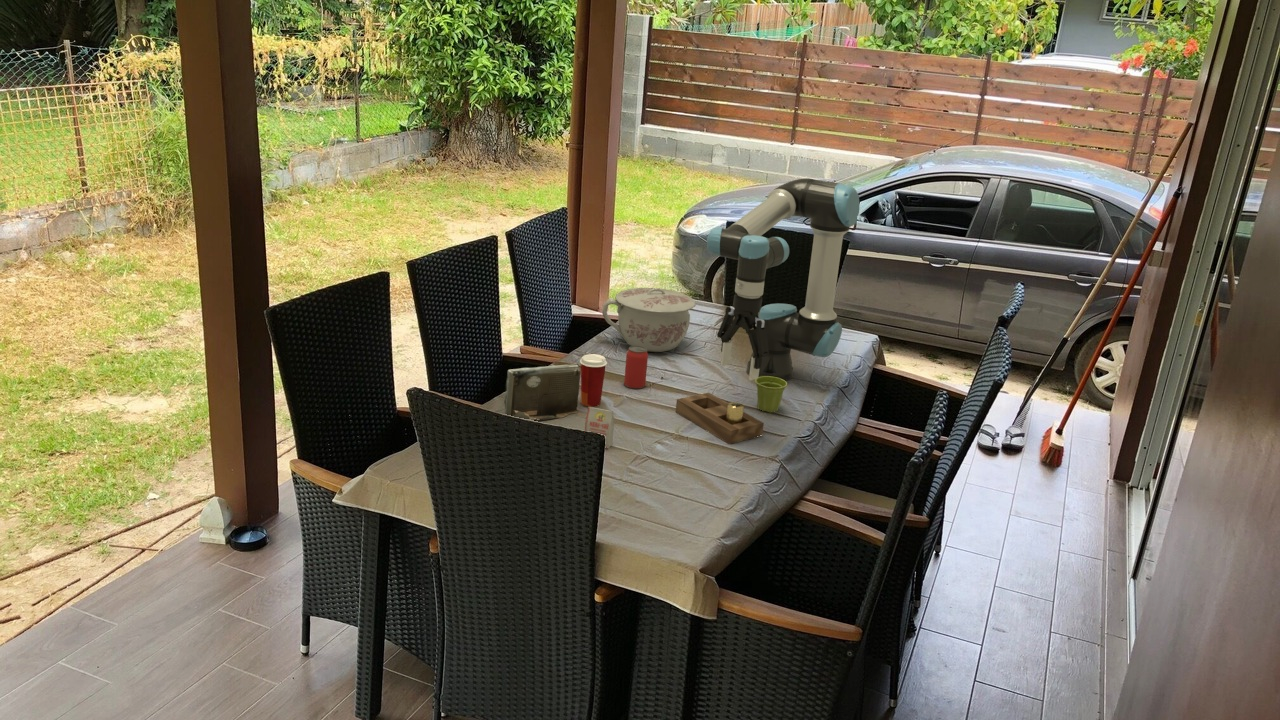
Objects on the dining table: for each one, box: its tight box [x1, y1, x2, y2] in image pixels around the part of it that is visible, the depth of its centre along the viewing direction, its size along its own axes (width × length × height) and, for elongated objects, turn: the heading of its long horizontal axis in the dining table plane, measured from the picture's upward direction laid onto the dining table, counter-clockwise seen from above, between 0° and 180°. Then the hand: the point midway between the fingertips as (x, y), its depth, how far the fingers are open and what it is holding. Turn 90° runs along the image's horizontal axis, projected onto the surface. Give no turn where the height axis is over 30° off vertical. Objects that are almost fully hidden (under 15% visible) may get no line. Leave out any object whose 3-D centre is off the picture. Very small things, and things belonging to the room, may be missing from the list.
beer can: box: [623, 346, 649, 390], centre depth 296 cm, size 7×7×12 cm
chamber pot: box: [601, 287, 697, 353], centre depth 330 cm, size 28×28×21 cm
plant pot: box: [754, 376, 788, 413], centre depth 287 cm, size 9×9×9 cm
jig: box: [675, 392, 765, 445], centre depth 274 cm, size 12×24×4 cm, turn 36°
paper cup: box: [579, 353, 608, 408], centre depth 280 cm, size 8×8×14 cm
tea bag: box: [584, 406, 615, 450], centre depth 255 cm, size 4×7×10 cm, turn 74°
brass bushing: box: [726, 401, 745, 425], centre depth 270 cm, size 4×4×8 cm
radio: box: [502, 363, 581, 422], centre depth 269 cm, size 23×9×15 cm, turn 117°
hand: (739, 371), depth 264 cm, fingers open, 11 cm apart
